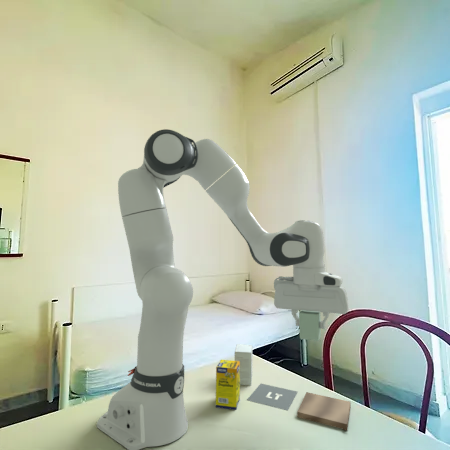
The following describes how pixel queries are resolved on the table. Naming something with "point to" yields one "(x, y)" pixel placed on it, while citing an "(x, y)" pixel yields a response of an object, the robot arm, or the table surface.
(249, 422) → the table surface
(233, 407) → the supplement box
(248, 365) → the small box
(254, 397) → the gray tile
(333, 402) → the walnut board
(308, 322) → the sage block
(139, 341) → the robot arm
